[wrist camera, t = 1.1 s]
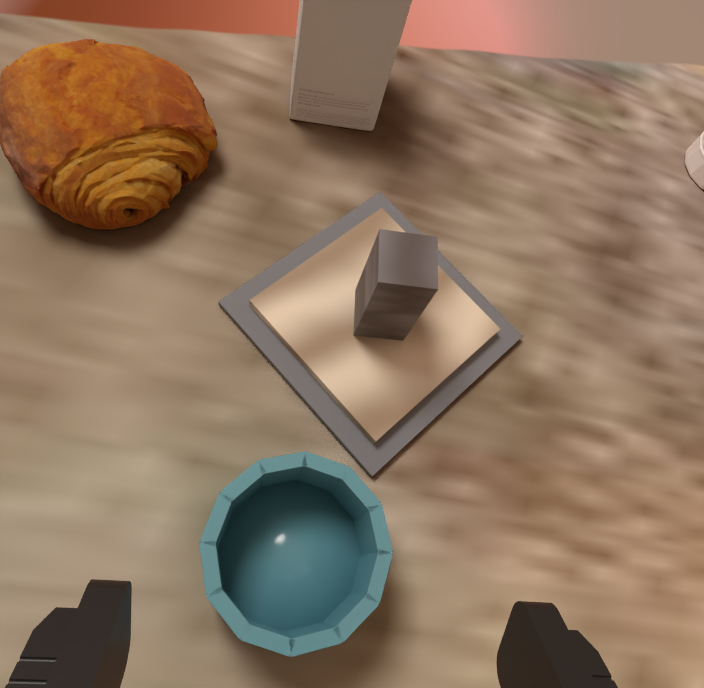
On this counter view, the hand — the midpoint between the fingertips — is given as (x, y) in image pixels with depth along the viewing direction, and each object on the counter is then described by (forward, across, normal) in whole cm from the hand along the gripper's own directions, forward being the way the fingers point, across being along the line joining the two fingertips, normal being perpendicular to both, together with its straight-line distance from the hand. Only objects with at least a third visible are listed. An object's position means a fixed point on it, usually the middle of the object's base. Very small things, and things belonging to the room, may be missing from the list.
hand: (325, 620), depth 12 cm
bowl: (+20, -1, +16) cm, 25 cm away
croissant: (+40, +15, -4) cm, 43 cm away
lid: (+31, -6, +4) cm, 32 cm away
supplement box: (+46, -2, -10) cm, 47 cm away
